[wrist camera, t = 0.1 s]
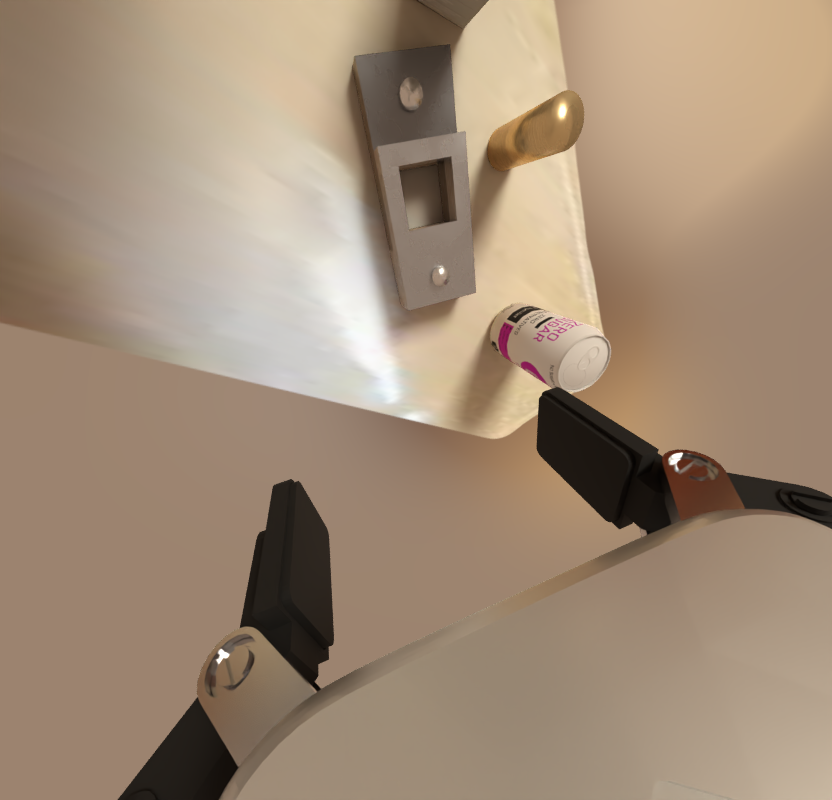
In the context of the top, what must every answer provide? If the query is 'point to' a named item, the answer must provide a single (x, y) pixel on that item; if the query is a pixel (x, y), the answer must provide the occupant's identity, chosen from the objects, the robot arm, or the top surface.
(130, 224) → the top surface
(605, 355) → the supplement can
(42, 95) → the top surface
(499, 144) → the brass pin
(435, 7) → the skincare box
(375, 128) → the grey plate with window
